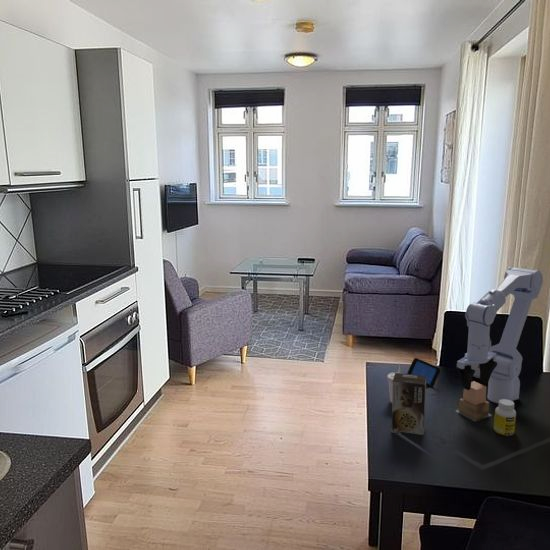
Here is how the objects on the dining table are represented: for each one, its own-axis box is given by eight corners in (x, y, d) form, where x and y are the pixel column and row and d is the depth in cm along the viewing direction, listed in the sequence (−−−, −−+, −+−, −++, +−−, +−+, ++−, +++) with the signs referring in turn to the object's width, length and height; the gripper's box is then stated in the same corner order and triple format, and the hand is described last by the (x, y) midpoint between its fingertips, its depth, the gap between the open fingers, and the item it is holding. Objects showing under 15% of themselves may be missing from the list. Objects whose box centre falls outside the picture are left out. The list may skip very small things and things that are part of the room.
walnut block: (472, 406, 156) (473, 394, 155) (488, 414, 151) (489, 402, 150) (458, 411, 153) (459, 399, 152) (474, 419, 148) (475, 407, 147)
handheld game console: (391, 382, 177) (392, 363, 176) (414, 376, 183) (414, 357, 181) (417, 395, 167) (418, 374, 165) (440, 388, 172) (441, 368, 170)
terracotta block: (473, 396, 154) (474, 381, 153) (485, 401, 150) (486, 386, 149) (462, 399, 152) (463, 384, 151) (475, 405, 148) (476, 389, 147)
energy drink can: (480, 380, 177) (482, 340, 174) (467, 374, 183) (469, 335, 180) (492, 377, 180) (495, 337, 177) (479, 371, 185) (482, 332, 182)
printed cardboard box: (424, 426, 146) (427, 375, 143) (423, 437, 140) (426, 384, 137) (393, 422, 149) (394, 371, 146) (390, 432, 143) (392, 380, 140)
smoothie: (407, 409, 157) (408, 367, 154) (386, 408, 158) (387, 366, 155) (406, 400, 163) (407, 360, 160) (386, 399, 164) (387, 359, 161)
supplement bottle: (505, 440, 138) (508, 408, 136) (489, 432, 143) (491, 400, 141) (518, 435, 140) (521, 403, 138) (501, 427, 145) (504, 396, 143)
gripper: (483, 335, 154) (480, 376, 157) (450, 343, 147) (447, 386, 150) (503, 341, 148) (500, 384, 151) (469, 350, 141) (466, 395, 144)
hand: (475, 386), depth 150 cm, fingers open, 7 cm apart
